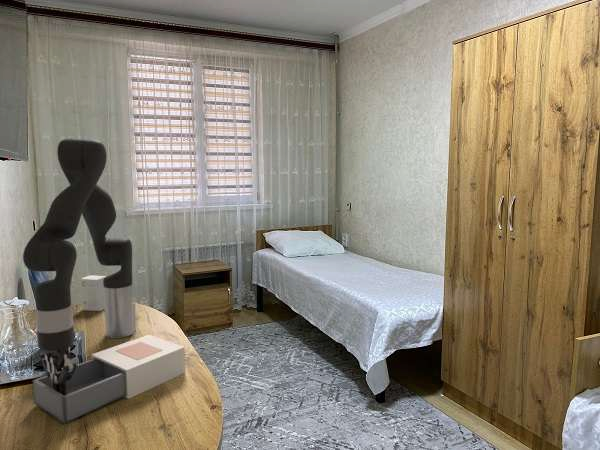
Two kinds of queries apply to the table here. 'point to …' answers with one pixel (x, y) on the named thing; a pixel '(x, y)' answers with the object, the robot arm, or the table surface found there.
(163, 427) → the table surface
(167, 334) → the table surface
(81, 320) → the table surface
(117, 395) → the tray
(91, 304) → the small box
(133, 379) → the mailer sleeve
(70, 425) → the table surface
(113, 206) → the robot arm
